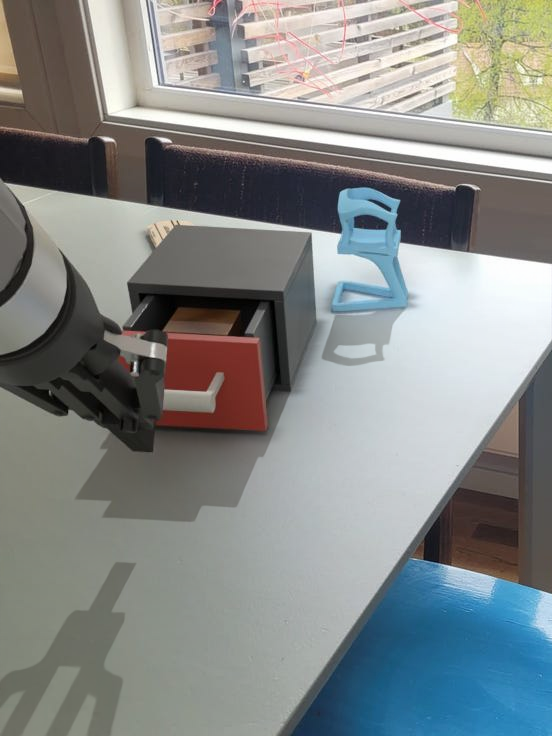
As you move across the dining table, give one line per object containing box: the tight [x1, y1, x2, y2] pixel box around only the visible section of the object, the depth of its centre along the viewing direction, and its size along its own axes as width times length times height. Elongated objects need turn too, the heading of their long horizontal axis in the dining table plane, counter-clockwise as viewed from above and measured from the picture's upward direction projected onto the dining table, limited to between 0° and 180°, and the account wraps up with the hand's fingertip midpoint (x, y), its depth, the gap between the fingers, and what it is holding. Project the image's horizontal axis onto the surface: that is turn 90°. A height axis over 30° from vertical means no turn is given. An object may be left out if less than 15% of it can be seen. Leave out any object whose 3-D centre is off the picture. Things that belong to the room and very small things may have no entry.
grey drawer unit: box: [126, 225, 317, 392], centre depth 97 cm, size 17×14×10 cm
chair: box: [331, 187, 409, 312], centre depth 109 cm, size 8×8×12 cm
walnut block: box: [163, 307, 243, 337], centre depth 89 cm, size 6×6×6 cm
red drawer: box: [117, 294, 280, 432], centre depth 87 cm, size 21×13×8 cm, turn 179°
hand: (144, 434), depth 73 cm, fingers closed
